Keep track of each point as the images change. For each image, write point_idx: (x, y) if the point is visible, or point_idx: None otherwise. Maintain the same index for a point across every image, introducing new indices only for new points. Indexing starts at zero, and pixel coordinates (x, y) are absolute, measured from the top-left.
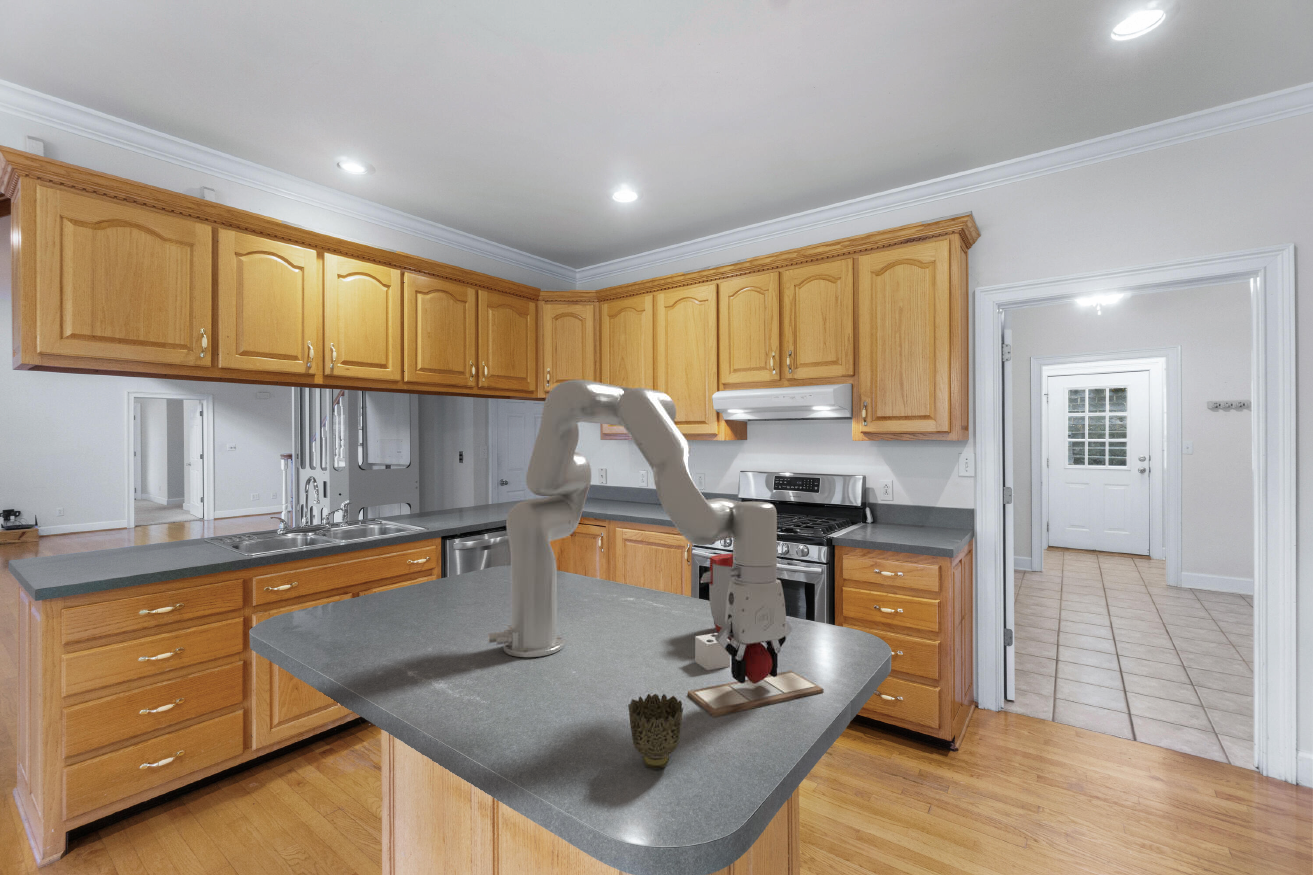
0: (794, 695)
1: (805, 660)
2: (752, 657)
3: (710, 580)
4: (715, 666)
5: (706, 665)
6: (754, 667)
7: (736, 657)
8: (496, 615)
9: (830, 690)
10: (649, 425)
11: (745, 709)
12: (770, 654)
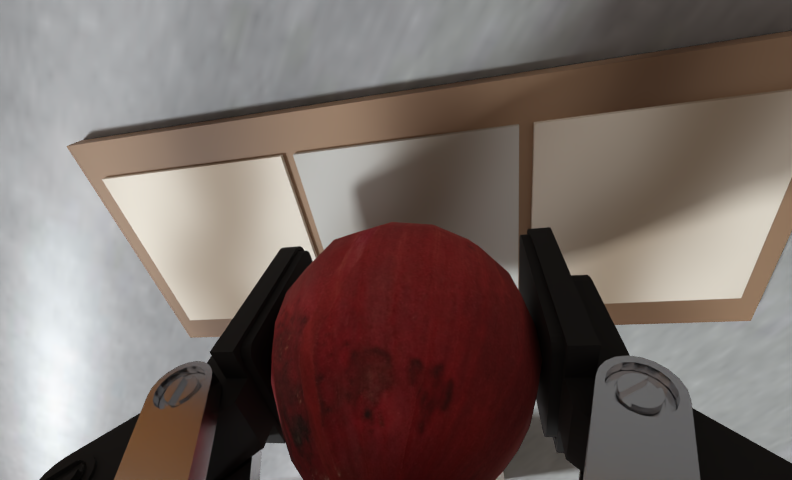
0: (238, 120)
1: (125, 385)
2: (482, 350)
3: None
4: None
5: None
6: (473, 267)
7: (682, 384)
8: None
9: (46, 147)
10: None
11: (585, 63)
12: (264, 372)
